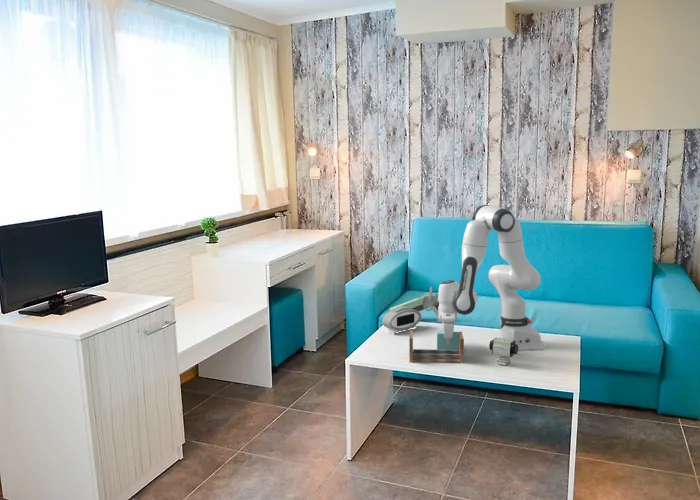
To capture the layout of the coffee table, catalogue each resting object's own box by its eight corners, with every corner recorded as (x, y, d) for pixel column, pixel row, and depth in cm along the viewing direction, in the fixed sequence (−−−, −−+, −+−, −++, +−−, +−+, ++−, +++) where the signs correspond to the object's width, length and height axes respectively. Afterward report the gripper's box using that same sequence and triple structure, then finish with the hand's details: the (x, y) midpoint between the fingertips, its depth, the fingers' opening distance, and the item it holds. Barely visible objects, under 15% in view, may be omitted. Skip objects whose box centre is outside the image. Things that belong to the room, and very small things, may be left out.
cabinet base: (461, 354, 277) (461, 331, 275) (463, 363, 265) (463, 339, 263) (409, 353, 279) (409, 331, 278) (409, 362, 267) (409, 338, 266)
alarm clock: (390, 335, 310) (390, 311, 308) (382, 333, 314) (382, 309, 313) (421, 327, 324) (421, 305, 322) (413, 325, 329) (413, 303, 327)
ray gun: (452, 318, 333) (438, 285, 331) (399, 337, 339) (385, 305, 338) (452, 315, 340) (438, 283, 338) (400, 334, 346) (386, 302, 345)
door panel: (458, 347, 286) (458, 331, 285) (458, 350, 282) (458, 333, 281) (437, 347, 287) (437, 331, 286) (437, 349, 284) (437, 333, 283)
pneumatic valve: (492, 360, 268) (493, 334, 266) (518, 365, 261) (518, 338, 260) (487, 364, 263) (488, 337, 262) (513, 368, 257) (514, 341, 255)
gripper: (440, 308, 293) (440, 336, 295) (441, 319, 273) (441, 348, 275) (453, 309, 292) (453, 336, 294) (455, 319, 272) (455, 349, 274)
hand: (447, 342), depth 284 cm, fingers closed on door panel, 3 cm apart
